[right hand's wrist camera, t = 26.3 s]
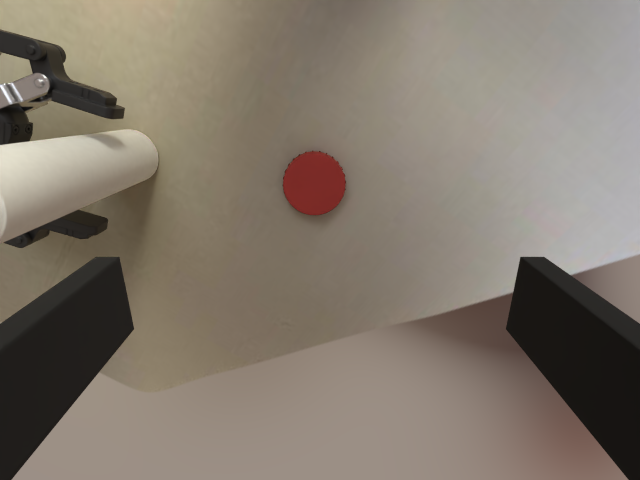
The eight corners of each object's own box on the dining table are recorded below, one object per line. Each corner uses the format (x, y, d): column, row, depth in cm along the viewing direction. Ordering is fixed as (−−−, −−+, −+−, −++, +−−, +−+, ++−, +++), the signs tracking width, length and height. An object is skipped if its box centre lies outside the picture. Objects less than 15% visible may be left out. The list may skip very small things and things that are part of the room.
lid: (274, 164, 33) (272, 167, 32) (331, 140, 33) (332, 142, 31) (298, 219, 35) (297, 224, 34) (353, 198, 34) (355, 202, 33)
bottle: (156, 186, 34) (-15, 274, 16) (105, 175, 33) (-127, 252, 16) (161, 136, 32) (-23, 172, 15) (107, 123, 32) (-147, 145, 14)
